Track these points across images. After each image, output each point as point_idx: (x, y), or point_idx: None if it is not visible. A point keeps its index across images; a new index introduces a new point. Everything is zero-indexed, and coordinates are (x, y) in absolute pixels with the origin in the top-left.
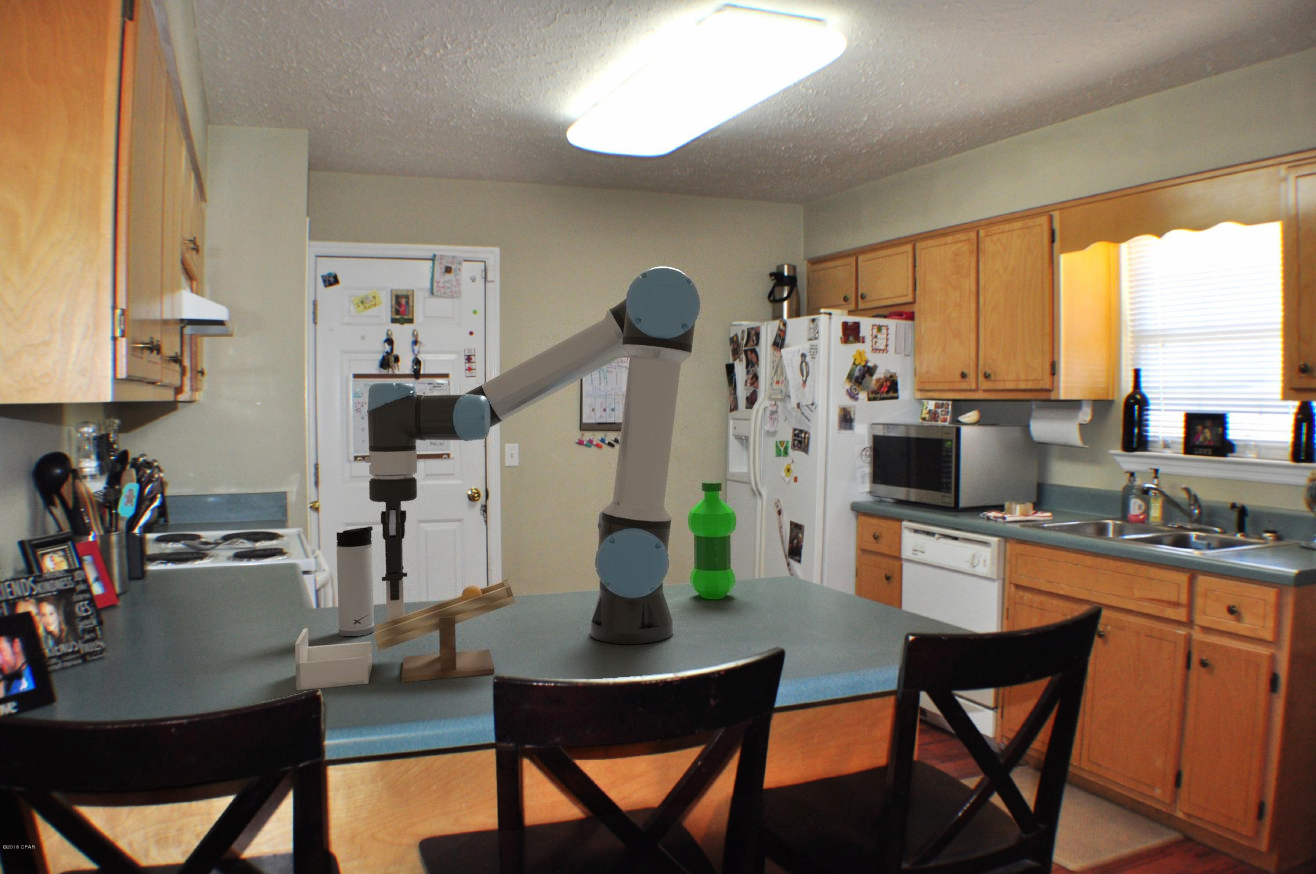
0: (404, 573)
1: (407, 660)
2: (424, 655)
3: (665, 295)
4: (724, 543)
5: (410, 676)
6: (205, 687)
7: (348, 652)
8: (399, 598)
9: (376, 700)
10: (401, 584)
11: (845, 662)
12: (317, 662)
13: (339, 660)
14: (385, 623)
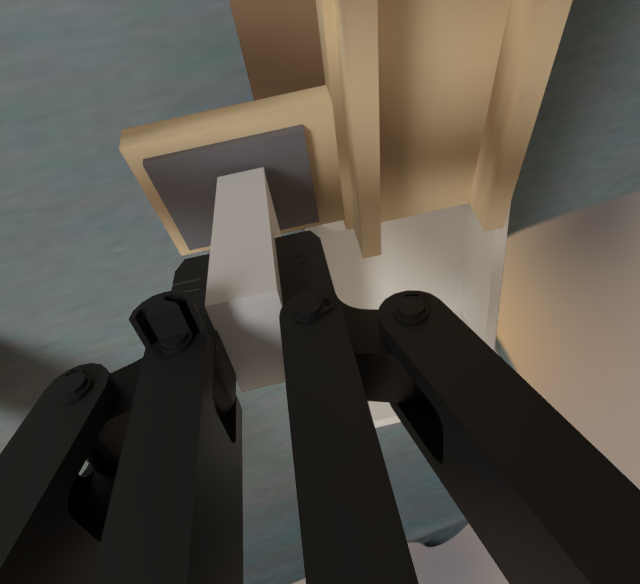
0: (176, 326)
1: (309, 84)
2: (243, 22)
3: None
4: None
5: None
6: (394, 444)
7: None
8: (274, 238)
9: (637, 96)
10: (277, 278)
11: None
12: (497, 315)
13: (502, 270)
14: (380, 221)
